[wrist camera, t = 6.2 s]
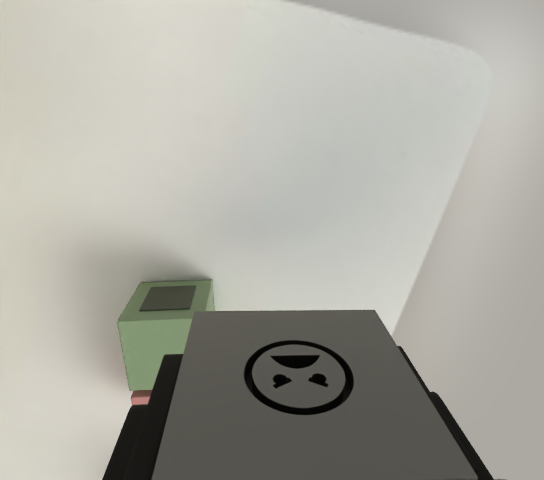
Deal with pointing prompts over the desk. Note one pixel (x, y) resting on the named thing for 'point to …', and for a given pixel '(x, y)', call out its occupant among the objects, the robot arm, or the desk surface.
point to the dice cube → (301, 403)
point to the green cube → (159, 325)
